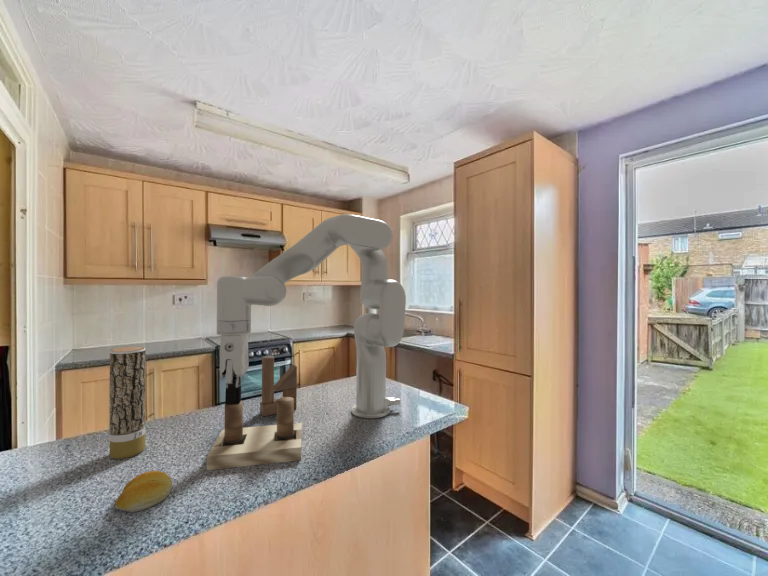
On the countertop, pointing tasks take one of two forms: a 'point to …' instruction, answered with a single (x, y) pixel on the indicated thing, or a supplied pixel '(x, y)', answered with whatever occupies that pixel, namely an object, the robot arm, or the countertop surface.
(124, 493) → the bread roll
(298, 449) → the socket board
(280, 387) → the brown wooden angled piece
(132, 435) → the paper tube
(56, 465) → the countertop surface
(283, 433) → the seated peg
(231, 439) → the walnut peg
